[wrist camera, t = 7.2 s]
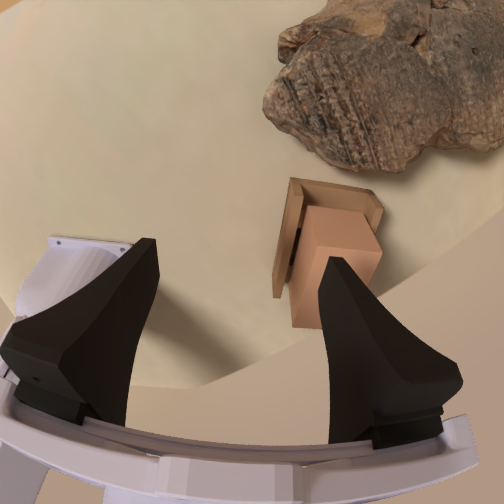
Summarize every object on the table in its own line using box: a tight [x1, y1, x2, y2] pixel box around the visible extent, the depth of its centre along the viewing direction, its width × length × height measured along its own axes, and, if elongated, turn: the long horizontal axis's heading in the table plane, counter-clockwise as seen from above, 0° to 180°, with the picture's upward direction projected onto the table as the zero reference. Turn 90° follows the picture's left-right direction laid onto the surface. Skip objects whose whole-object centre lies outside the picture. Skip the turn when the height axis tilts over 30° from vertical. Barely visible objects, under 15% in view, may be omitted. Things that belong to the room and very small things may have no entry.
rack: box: [272, 177, 384, 298], centre depth 22 cm, size 9×6×3 cm
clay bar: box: [288, 205, 383, 329], centre depth 20 cm, size 7×4×4 cm, turn 174°
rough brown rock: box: [263, 0, 504, 173], centre depth 13 cm, size 14×5×20 cm
